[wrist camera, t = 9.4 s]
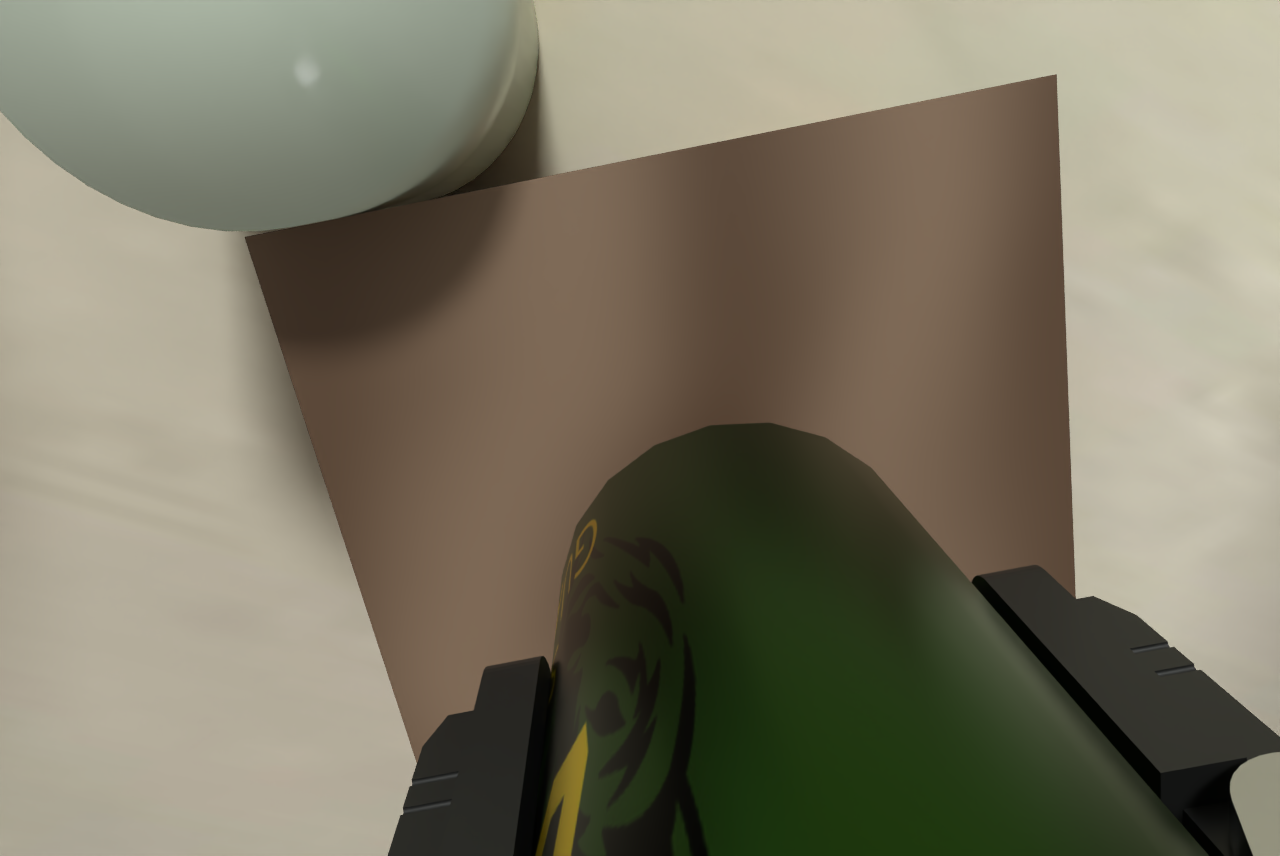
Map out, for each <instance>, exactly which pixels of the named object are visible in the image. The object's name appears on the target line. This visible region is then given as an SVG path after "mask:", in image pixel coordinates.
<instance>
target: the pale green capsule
mask: <svg viewBox="0 0 1280 856" xmlns="http://www.w3.org/2000/svg"><path fill="white" fill-rule="evenodd" d="M538 52H539V49H538V25H537V18H536V12H535V5H534V1H533V0H0V111H1V112H2V113H3V114H4V115H5V116H6V118H7V119H8V120H9V121H10V122H11V123H12V124H13V125H14V126H15V127H16V128H17V129H18V130H19V131H20V132H21V133H22V135H23V136H24V137H25V138H26V139H28V140H29V141H30V142H31V143H32V144H33V145H35V146H36V147H37V148H38V149H39V150H40V151H42V152H43V153H44V154H45V155H46V156H47V157H49V158H50V159H51V160H52V161H53V162H54V163H56V164H57V165H58V166H60V167H61V168H63V169H64V170H66V171H67V172H69V173H70V174H71V175H73V176H74V177H76V178H77V179H79V180H80V181H82V182H83V183H85V184H86V185H87V186H89V187H91V188H93V189H95V190H97V191H99V192H100V193H102V194H104V195H106V196H108V197H110V198H112V199H114V200H115V201H117V202H119V203H121V204H123V205H126V206H128V207H131V208H134V209H136V210H139V211H141V212H144V213H146V214H149V215H151V216H154V217H157V218H160V219H164V220H168V221H172V222H176V223H179V224H183V225H187V226H191V227H198V228H206V229H213V230H221V231H265V230H273V229H280V228H288V227H295V226H300V225H305V224H311V223H316V222H321V221H327V220H332V219H337V218H342V217H347V216H352V215H357V214H362V213H367V212H372V211H377V210H382V209H387V208H392V207H397V206H402V205H407V204H412V203H417V202H422V201H427V200H432V199H435V198H439V197H441V196H443V195H446V194H448V193H450V192H452V191H455V190H457V189H458V188H460V187H462V186H463V185H465V184H467V183H468V182H470V181H472V180H473V179H474V178H476V177H477V176H478V175H479V174H481V173H482V172H483V171H484V170H485V169H487V168H488V167H489V166H490V165H491V164H492V163H493V162H494V161H495V160H496V158H497V157H498V156H499V155H500V154H501V153H502V152H503V151H504V149H505V148H506V146H507V145H508V143H509V142H510V141H511V139H512V138H513V136H514V135H515V133H516V131H517V129H518V127H519V125H520V123H521V121H522V119H523V117H524V115H525V112H526V110H527V107H528V104H529V101H530V99H531V96H532V91H533V87H534V82H535V78H536V73H537V62H538Z"/></svg>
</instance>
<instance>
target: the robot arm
mask: <svg viewBox="0 0 1280 856" xmlns="http://www.w3.org/2000/svg"><path fill="white" fill-rule="evenodd" d="M971 583H972V584H973V585H974V586H975V587H976V588H977V590H978V591H979V592H980V593H981V594H982V595H983V596H984V598H985V599H986V600H987V601H988V602H989V603H990V605H991V606H992V607H993V608H994V609H995V610H996V611H997V613H998V614H999V615H1000V616H1001V617H1002V618H1003V619H1004V621H1005V622H1006V623H1007V624H1008V625H1009V626H1010V628H1011V629H1012V630H1013V631H1014V632H1015V633H1016V634H1017V636H1018V637H1019V638H1020V639H1021V640H1022V641H1023V642H1024V644H1025V645H1026V646H1027V647H1028V648H1029V649H1030V651H1031V652H1032V653H1033V654H1034V655H1035V656H1036V657H1037V659H1038V660H1039V661H1040V662H1041V663H1042V664H1043V665H1044V667H1045V668H1046V669H1047V670H1048V671H1049V672H1050V673H1051V675H1052V676H1053V677H1054V678H1055V679H1056V680H1057V682H1058V683H1059V684H1060V685H1061V686H1062V687H1063V688H1064V690H1065V691H1066V692H1067V693H1068V694H1069V695H1070V696H1071V698H1072V699H1073V700H1074V701H1075V702H1076V703H1077V705H1078V706H1079V707H1080V708H1081V709H1082V710H1083V711H1084V713H1085V714H1086V715H1087V716H1088V717H1089V718H1090V719H1091V721H1092V722H1093V723H1094V724H1095V725H1096V726H1097V727H1098V729H1099V730H1100V731H1101V732H1102V733H1103V734H1104V736H1105V737H1106V738H1107V739H1108V740H1109V741H1110V742H1111V744H1112V745H1113V746H1114V747H1115V748H1116V749H1117V750H1118V752H1119V753H1120V754H1121V755H1122V756H1123V757H1124V759H1125V760H1126V761H1127V762H1128V763H1129V764H1130V765H1131V767H1132V768H1133V769H1134V770H1135V771H1136V772H1137V773H1138V775H1139V776H1140V777H1141V778H1142V779H1143V780H1144V782H1145V783H1146V784H1147V785H1148V786H1149V787H1150V788H1151V790H1152V791H1153V792H1154V793H1155V794H1156V795H1157V796H1158V798H1159V799H1160V800H1161V801H1162V802H1163V803H1164V804H1165V806H1166V807H1167V808H1168V809H1169V810H1170V811H1171V813H1172V814H1173V815H1174V816H1175V817H1176V818H1177V819H1178V821H1179V822H1180V823H1181V824H1182V825H1183V826H1184V827H1185V829H1186V830H1187V831H1188V832H1189V833H1190V834H1191V836H1192V837H1193V838H1194V839H1195V840H1196V841H1197V842H1198V844H1199V845H1200V846H1201V847H1202V848H1203V849H1204V850H1205V852H1206V853H1207V854H1208V855H1209V856H1280V737H1279V736H1278V735H1277V734H1276V733H1274V732H1273V731H1272V730H1271V729H1270V728H1269V727H1267V726H1266V725H1265V724H1264V723H1263V722H1261V721H1260V720H1259V719H1258V718H1257V717H1256V716H1254V715H1253V714H1252V713H1251V712H1250V711H1249V710H1247V709H1246V708H1245V707H1244V706H1243V705H1242V704H1240V703H1239V702H1238V701H1237V700H1236V699H1234V698H1233V697H1232V696H1231V695H1230V694H1229V693H1227V692H1226V691H1225V690H1224V689H1223V688H1222V687H1220V686H1219V685H1218V684H1217V683H1216V682H1214V681H1213V680H1212V679H1211V678H1210V677H1209V676H1207V675H1206V674H1205V673H1204V672H1203V671H1202V670H1196V669H1195V667H1194V664H1193V663H1192V662H1191V661H1190V660H1189V659H1187V658H1186V657H1185V656H1184V655H1183V654H1182V653H1180V652H1179V651H1178V650H1177V649H1176V648H1175V647H1171V648H1170V647H1169V645H1168V641H1166V640H1165V639H1164V638H1163V637H1162V636H1160V635H1159V634H1158V633H1157V632H1156V631H1155V630H1153V629H1152V628H1151V627H1150V626H1149V625H1148V624H1146V623H1145V622H1144V621H1143V620H1142V619H1141V618H1139V617H1138V616H1137V615H1135V614H1133V613H1131V612H1128V611H1126V610H1124V609H1121V608H1119V607H1117V606H1115V605H1112V604H1110V603H1108V602H1105V601H1103V600H1101V599H1099V598H1096V597H1094V596H1091V597H1086V598H1080V599H1076V598H1075V597H1074V596H1072V595H1071V594H1070V593H1069V592H1068V591H1067V590H1066V589H1065V588H1064V587H1063V586H1062V585H1061V584H1059V583H1058V582H1057V581H1056V580H1055V579H1054V578H1053V577H1052V576H1051V575H1050V574H1049V573H1048V572H1047V571H1045V570H1044V569H1043V568H1042V567H1040V566H1038V565H1030V566H1024V567H1019V568H1014V569H1008V570H1003V571H998V572H992V573H987V574H982V575H977V576H975V577H974V578H973V580H972V582H971ZM550 677H551V670H550V667H549V664H548V662H547V660H546V658H545V657H544V656H539V657H533V658H528V659H523V660H517V661H512V662H507V663H501V664H496V665H491V666H487V667H485V669H484V671H483V674H482V678H481V682H480V686H479V690H478V694H477V698H476V703H475V707H474V710H473V711H468V712H462V713H457V714H452V715H448V716H447V717H446V718H445V720H444V721H443V722H442V723H441V724H440V726H439V727H438V728H437V729H436V731H435V732H434V733H433V734H432V735H431V737H430V738H429V739H428V740H427V742H426V743H425V744H424V745H423V746H422V750H421V753H420V756H419V759H418V762H417V765H416V768H415V772H414V775H413V778H412V786H410V787H409V790H408V794H407V797H406V800H405V803H404V806H403V811H404V813H403V815H401V816H400V819H399V822H398V825H397V828H396V831H395V834H394V837H393V841H392V844H391V847H390V850H389V853H388V856H531V848H532V839H533V830H534V821H535V812H536V803H537V794H538V785H539V776H540V767H541V758H542V749H543V740H544V731H545V722H546V713H547V704H548V695H549V686H550Z"/></svg>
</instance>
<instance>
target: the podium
mask: <svg viewBox="0 0 1280 856" xmlns="http://www.w3.org/2000/svg"><path fill="white" fill-rule="evenodd" d="M245 240H246V243H247V246H248V249H249V252H250V255H251V258H252V261H253V264H254V267H255V270H256V273H257V276H258V279H259V282H260V285H261V289H262V292H263V295H264V298H265V301H266V304H267V307H268V310H269V313H270V316H271V319H272V322H273V325H274V328H275V331H276V334H277V337H278V340H279V343H280V347H281V350H282V353H283V356H284V359H285V362H286V365H287V368H288V371H289V374H290V377H291V380H292V383H293V386H294V389H295V392H296V395H297V398H298V402H299V405H300V408H301V411H302V414H303V417H304V420H305V423H306V426H307V429H308V432H309V435H310V438H311V441H312V444H313V447H314V450H315V453H316V456H317V460H318V463H319V466H320V469H321V472H322V475H323V478H324V481H325V484H326V487H327V490H328V493H329V496H330V499H331V502H332V505H333V508H334V511H335V514H336V518H337V521H338V524H339V527H340V530H341V533H342V536H343V539H344V542H345V545H346V548H347V551H348V554H349V557H350V560H351V563H352V566H353V569H354V573H355V576H356V579H357V582H358V585H359V588H360V591H361V594H362V597H363V600H364V603H365V606H366V609H367V612H368V615H369V618H370V621H371V624H372V627H373V631H374V634H375V637H376V640H377V643H378V646H379V649H380V652H381V655H382V658H383V661H384V664H385V667H386V670H387V673H388V676H389V679H390V682H391V685H392V689H393V692H394V695H395V698H396V701H397V704H398V707H399V710H400V713H401V716H402V719H403V722H404V725H405V728H406V731H407V734H408V737H409V740H410V744H411V747H412V750H413V753H414V756H415V759H416V762H418V759H419V756H420V753H421V750H422V746H423V745H424V744H425V743H426V742H427V740H428V739H429V738H430V737H431V735H432V734H433V733H434V732H435V731H436V729H437V728H438V727H439V726H440V724H441V723H442V722H443V721H444V720H445V718H446V717H447V716H448V715H452V714H457V713H462V712H468V711H473V710H474V707H475V703H476V698H477V694H478V690H479V686H480V682H481V678H482V674H483V671H484V669H485V667H487V666H491V665H496V664H501V663H507V662H512V661H517V660H523V659H528V658H533V657H539V656H544V657H545V658H546V660H547V662H548V664H549V667H550V670H551V668H552V659H553V650H554V641H555V632H556V623H557V614H558V605H559V596H560V587H561V578H562V573H563V570H564V566H565V563H566V559H567V556H568V552H569V549H570V545H571V542H572V538H573V535H574V531H575V528H576V525H577V523H578V522H579V521H580V519H581V518H582V516H583V515H584V513H585V512H586V511H587V509H588V508H589V506H590V505H591V503H592V502H593V501H594V499H595V498H596V496H597V495H598V494H599V492H600V491H601V489H602V488H603V486H604V485H605V484H606V482H607V481H608V480H609V479H610V478H611V477H613V476H614V475H615V474H617V473H618V472H619V471H621V470H622V469H623V468H625V467H626V466H627V465H629V464H630V463H631V462H633V461H634V460H635V459H637V458H638V457H639V456H641V455H642V454H643V453H645V452H646V451H647V450H649V449H650V448H651V447H653V446H654V445H656V444H659V443H662V442H665V441H668V440H670V439H673V438H676V437H679V436H681V435H684V434H687V433H690V432H693V431H695V430H698V429H701V428H704V427H707V426H709V425H724V424H746V423H768V422H770V423H774V424H778V425H781V426H785V427H789V428H793V429H796V430H800V431H804V432H808V433H811V434H815V435H819V436H823V437H826V438H827V439H829V440H830V441H832V442H833V443H835V444H836V445H838V446H839V447H841V448H842V449H844V450H846V451H847V452H849V453H850V454H852V455H853V456H855V457H856V458H858V459H859V460H861V461H862V462H864V463H865V464H867V465H868V466H870V467H871V468H872V469H873V470H874V471H875V472H876V474H877V475H878V476H879V477H880V478H881V479H882V480H883V482H884V483H885V484H886V485H887V486H888V487H889V488H890V490H891V491H892V492H893V493H894V494H895V495H896V497H897V498H898V499H899V500H900V501H901V502H902V503H903V505H904V506H905V507H906V508H907V509H908V510H909V511H910V513H911V514H912V515H913V516H914V517H915V518H916V519H917V521H918V522H919V523H920V524H921V525H922V526H923V528H924V529H925V530H926V531H927V532H928V533H929V534H930V536H931V537H932V538H933V539H934V540H935V541H936V542H937V544H938V545H939V546H940V547H941V548H942V549H943V551H944V552H945V553H946V554H947V555H948V556H949V557H950V559H951V560H952V561H953V562H954V563H955V564H956V565H957V567H958V568H959V569H960V570H961V571H962V572H963V574H964V575H965V576H966V577H967V578H968V579H969V580H970V582H972V580H973V578H974V577H975V576H977V575H982V574H987V573H992V572H998V571H1003V570H1008V569H1014V568H1019V567H1024V566H1030V565H1038V566H1040V567H1042V568H1043V569H1044V570H1045V571H1047V572H1048V573H1049V574H1050V575H1051V576H1052V577H1053V578H1054V579H1055V580H1056V581H1057V582H1058V583H1059V584H1061V585H1062V586H1063V587H1064V588H1065V589H1066V590H1067V591H1068V592H1069V593H1070V594H1071V595H1072V596H1074V597H1075V598H1076V596H1075V569H1074V541H1073V514H1072V486H1071V459H1070V431H1069V404H1068V376H1067V349H1066V321H1065V294H1064V266H1063V239H1062V211H1061V184H1060V156H1059V129H1058V101H1057V74H1056V75H1051V76H1046V77H1041V78H1036V79H1031V80H1026V81H1021V82H1016V83H1011V84H1006V85H1001V86H996V87H991V88H986V89H981V90H976V91H971V92H966V93H961V94H956V95H951V96H946V97H941V98H936V99H931V100H926V101H921V102H916V103H911V104H906V105H901V106H896V107H891V108H886V109H881V110H876V111H871V112H866V113H861V114H856V115H851V116H846V117H841V118H836V119H831V120H826V121H821V122H816V123H811V124H806V125H801V126H796V127H791V128H786V129H781V130H776V131H771V132H766V133H762V134H757V135H752V136H747V137H742V138H737V139H732V140H727V141H722V142H717V143H712V144H707V145H702V146H697V147H692V148H687V149H682V150H677V151H672V152H667V153H662V154H657V155H652V156H647V157H642V158H637V159H632V160H627V161H622V162H617V163H612V164H607V165H602V166H597V167H592V168H587V169H582V170H577V171H572V172H567V173H562V174H557V175H552V176H547V177H542V178H537V179H532V180H527V181H522V182H517V183H512V184H507V185H502V186H497V187H492V188H487V189H482V190H477V191H472V192H467V193H462V194H457V195H452V196H447V197H442V198H437V199H432V200H427V201H422V202H417V203H412V204H407V205H402V206H397V207H392V208H387V209H382V210H377V211H372V212H367V213H362V214H357V215H352V216H347V217H342V218H337V219H333V220H328V221H323V222H318V223H313V224H308V225H303V226H298V227H293V228H288V229H283V230H278V231H273V232H268V233H263V234H258V235H253V236H248V237H245Z"/></svg>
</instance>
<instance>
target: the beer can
mask: <svg viewBox="0 0 1280 856" xmlns="http://www.w3.org/2000/svg"><path fill="white" fill-rule="evenodd" d="M531 856H1209V855H1208V854H1207V853H1206V852H1205V850H1204V849H1203V848H1202V847H1201V846H1200V845H1199V844H1198V842H1197V841H1196V840H1195V839H1194V838H1193V837H1192V836H1191V834H1190V833H1189V832H1188V831H1187V830H1186V829H1185V827H1184V826H1183V825H1182V824H1181V823H1180V822H1179V821H1178V819H1177V818H1176V817H1175V816H1174V815H1173V814H1172V813H1171V811H1170V810H1169V809H1168V808H1167V807H1166V806H1165V804H1164V803H1163V802H1162V801H1161V800H1160V799H1159V798H1158V796H1157V795H1156V794H1155V793H1154V792H1153V791H1152V790H1151V788H1150V787H1149V786H1148V785H1147V784H1146V783H1145V782H1144V780H1143V779H1142V778H1141V777H1140V776H1139V775H1138V773H1137V772H1136V771H1135V770H1134V769H1133V768H1132V767H1131V765H1130V764H1129V763H1128V762H1127V761H1126V760H1125V759H1124V757H1123V756H1122V755H1121V754H1120V753H1119V752H1118V750H1117V749H1116V748H1115V747H1114V746H1113V745H1112V744H1111V742H1110V741H1109V740H1108V739H1107V738H1106V737H1105V736H1104V734H1103V733H1102V732H1101V731H1100V730H1099V729H1098V727H1097V726H1096V725H1095V724H1094V723H1093V722H1092V721H1091V719H1090V718H1089V717H1088V716H1087V715H1086V714H1085V713H1084V711H1083V710H1082V709H1081V708H1080V707H1079V706H1078V705H1077V703H1076V702H1075V701H1074V700H1073V699H1072V698H1071V696H1070V695H1069V694H1068V693H1067V692H1066V691H1065V690H1064V688H1063V687H1062V686H1061V685H1060V684H1059V683H1058V682H1057V680H1056V679H1055V678H1054V677H1053V676H1052V675H1051V673H1050V672H1049V671H1048V670H1047V669H1046V668H1045V667H1044V665H1043V664H1042V663H1041V662H1040V661H1039V660H1038V659H1037V657H1036V656H1035V655H1034V654H1033V653H1032V652H1031V651H1030V649H1029V648H1028V647H1027V646H1026V645H1025V644H1024V642H1023V641H1022V640H1021V639H1020V638H1019V637H1018V636H1017V634H1016V633H1015V632H1014V631H1013V630H1012V629H1011V628H1010V626H1009V625H1008V624H1007V623H1006V622H1005V621H1004V619H1003V618H1002V617H1001V616H1000V615H999V614H998V613H997V611H996V610H995V609H994V608H993V607H992V606H991V605H990V603H989V602H988V601H987V600H986V599H985V598H984V596H983V595H982V594H981V593H980V592H979V591H978V590H977V588H976V587H975V586H974V585H973V584H972V583H971V582H970V580H969V579H968V578H967V577H966V576H965V575H964V574H963V572H962V571H961V570H960V569H959V568H958V567H957V565H956V564H955V563H954V562H953V561H952V560H951V559H950V557H949V556H948V555H947V554H946V553H945V552H944V551H943V549H942V548H941V547H940V546H939V545H938V544H937V542H936V541H935V540H934V539H933V538H932V537H931V536H930V534H929V533H928V532H927V531H926V530H925V529H924V528H923V526H922V525H921V524H920V523H919V522H918V521H917V519H916V518H915V517H914V516H913V515H912V514H911V513H910V511H909V510H908V509H907V508H906V507H905V506H904V505H903V503H902V502H901V501H900V500H899V499H898V498H897V497H896V495H895V494H894V493H893V492H892V491H891V490H890V488H889V487H888V486H887V485H886V484H885V483H884V482H883V480H882V479H881V478H880V477H879V476H878V475H877V474H876V472H875V471H874V470H873V469H872V468H871V467H870V466H868V465H867V464H865V463H864V462H862V461H861V460H859V459H858V458H856V457H855V456H853V455H852V454H850V453H849V452H847V451H846V450H844V449H842V448H841V447H839V446H838V445H836V444H835V443H833V442H832V441H830V440H829V439H827V438H826V437H823V436H819V435H815V434H811V433H808V432H804V431H800V430H796V429H793V428H789V427H785V426H781V425H778V424H774V423H770V422H768V423H746V424H724V425H709V426H707V427H704V428H701V429H698V430H695V431H693V432H690V433H687V434H684V435H681V436H679V437H676V438H673V439H670V440H668V441H665V442H662V443H659V444H656V445H654V446H653V447H651V448H650V449H649V450H647V451H646V452H645V453H643V454H642V455H641V456H639V457H638V458H637V459H635V460H634V461H633V462H631V463H630V464H629V465H627V466H626V467H625V468H623V469H622V470H621V471H619V472H618V473H617V474H615V475H614V476H613V477H611V478H610V479H609V480H608V481H607V482H606V484H605V485H604V486H603V488H602V489H601V491H600V492H599V494H598V495H597V496H596V498H595V499H594V501H593V502H592V503H591V505H590V506H589V508H588V509H587V511H586V512H585V513H584V515H583V516H582V518H581V519H580V521H579V522H578V523H577V525H576V528H575V531H574V535H573V538H572V542H571V545H570V549H569V552H568V556H567V559H566V563H565V566H564V570H563V573H562V578H561V587H560V596H559V605H558V614H557V623H556V632H555V641H554V650H553V659H552V668H551V677H550V686H549V695H548V704H547V713H546V722H545V731H544V740H543V749H542V758H541V767H540V776H539V785H538V794H537V803H536V812H535V821H534V830H533V839H532V848H531Z"/></svg>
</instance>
